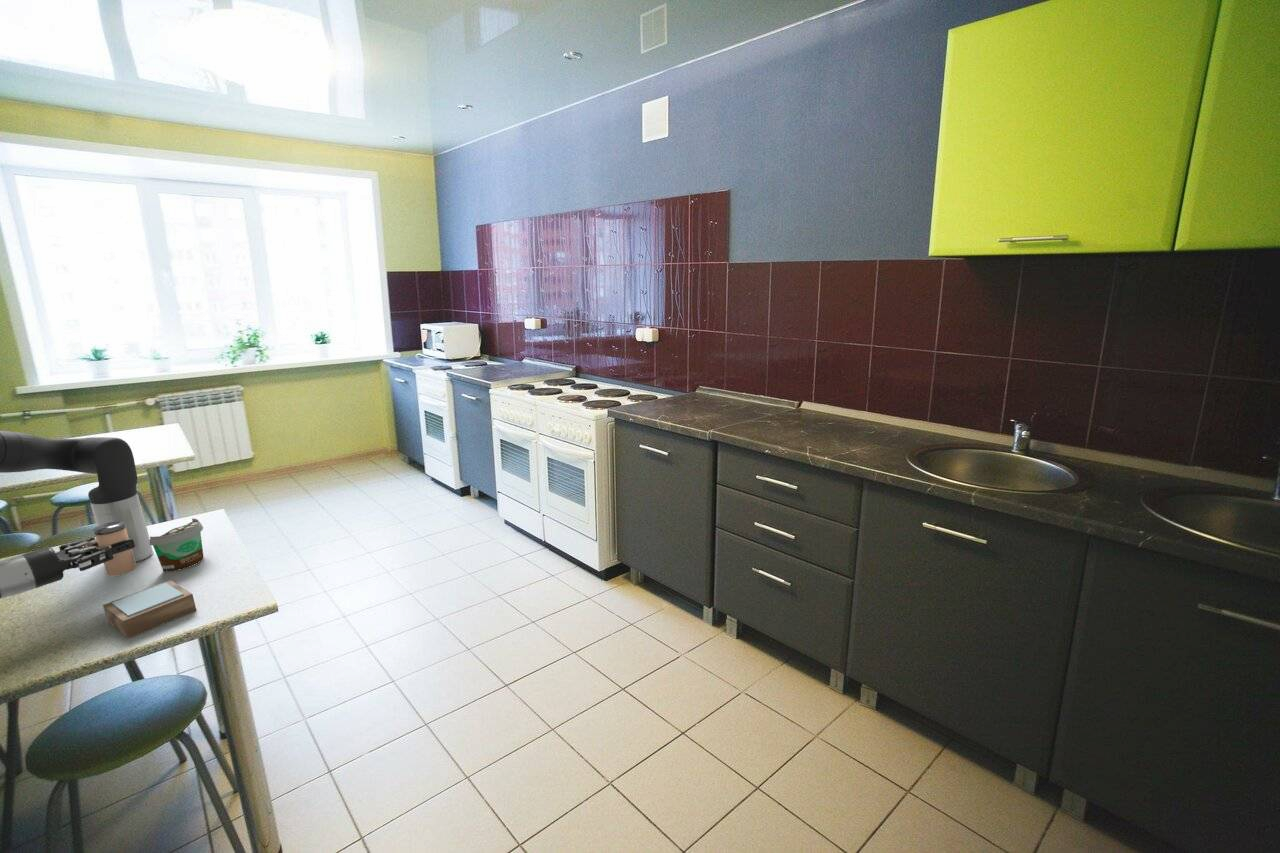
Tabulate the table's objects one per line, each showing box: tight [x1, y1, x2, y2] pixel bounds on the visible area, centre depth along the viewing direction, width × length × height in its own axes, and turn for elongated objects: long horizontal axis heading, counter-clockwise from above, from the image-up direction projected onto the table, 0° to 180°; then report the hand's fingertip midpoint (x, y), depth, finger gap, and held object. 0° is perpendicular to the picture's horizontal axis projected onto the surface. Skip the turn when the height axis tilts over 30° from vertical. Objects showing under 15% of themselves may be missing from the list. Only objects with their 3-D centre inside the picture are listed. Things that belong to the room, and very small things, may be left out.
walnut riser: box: [102, 580, 197, 639], centre depth 126 cm, size 12×12×4 cm
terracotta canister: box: [92, 521, 137, 577], centre depth 131 cm, size 5×5×11 cm
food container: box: [149, 518, 204, 572], centre depth 149 cm, size 12×6×10 cm, turn 168°
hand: (128, 539), depth 133 cm, fingers closed on terracotta canister, 5 cm apart
